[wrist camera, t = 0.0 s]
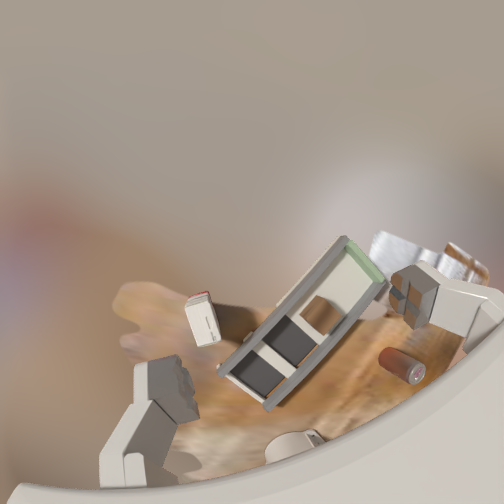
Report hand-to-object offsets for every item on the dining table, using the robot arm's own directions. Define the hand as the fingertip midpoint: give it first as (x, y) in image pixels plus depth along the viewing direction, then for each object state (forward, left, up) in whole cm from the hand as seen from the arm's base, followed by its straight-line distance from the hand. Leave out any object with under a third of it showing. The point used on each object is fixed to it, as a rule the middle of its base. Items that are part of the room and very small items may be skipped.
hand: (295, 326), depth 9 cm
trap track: (-23, -2, -54) cm, 59 cm away
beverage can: (-50, -11, -55) cm, 75 cm away
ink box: (-4, +11, -55) cm, 56 cm away
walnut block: (-23, -6, -52) cm, 57 cm away
